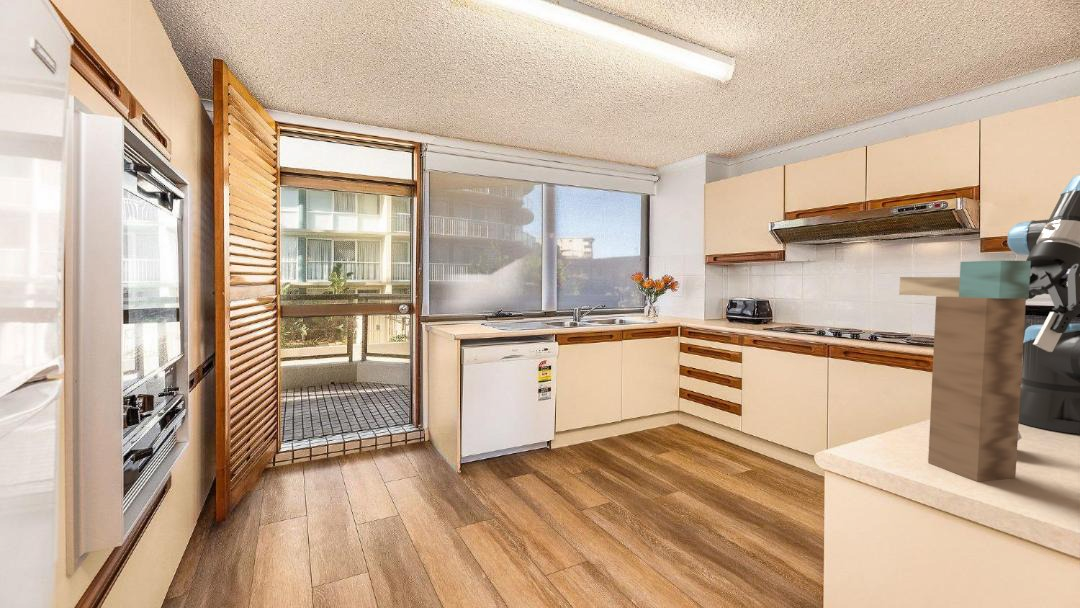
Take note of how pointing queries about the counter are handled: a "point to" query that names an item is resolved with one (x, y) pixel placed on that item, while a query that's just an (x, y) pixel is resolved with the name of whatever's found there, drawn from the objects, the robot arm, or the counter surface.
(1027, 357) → the robot arm
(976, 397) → the stand
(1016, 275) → the mallet
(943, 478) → the counter surface
